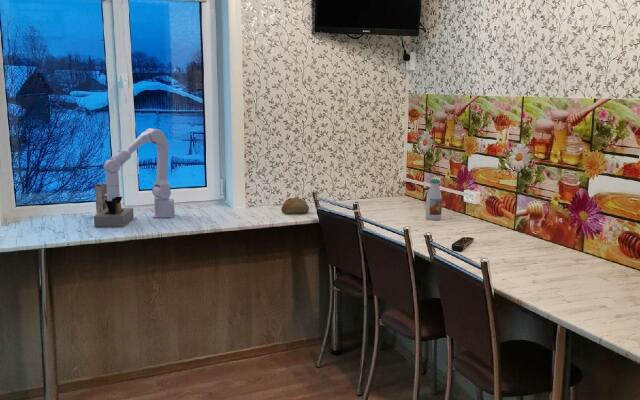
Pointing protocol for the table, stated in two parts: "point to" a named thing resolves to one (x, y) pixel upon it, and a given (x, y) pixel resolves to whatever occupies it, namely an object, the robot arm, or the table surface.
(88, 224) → the table surface
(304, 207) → the bread roll
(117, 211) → the walnut block
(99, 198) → the coffee box
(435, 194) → the milk bottle
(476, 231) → the table surface
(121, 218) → the well block
